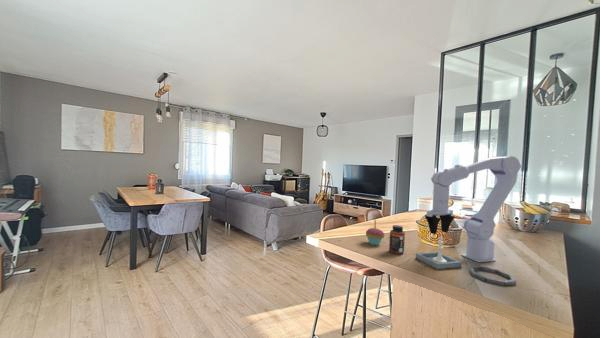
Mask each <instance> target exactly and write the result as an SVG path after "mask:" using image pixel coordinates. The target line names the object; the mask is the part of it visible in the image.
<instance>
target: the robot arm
mask: <svg viewBox="0 0 600 338" xmlns="http://www.w3.org/2000/svg"><path fill="white" fill-rule="evenodd" d="M521 168H522V165H521V163H520V160H519V159H518V157H517V156H513V155H508V156H492V157H487V158H485V159H481V160H480V161H479V160H478V161H476V162H475V163H472V164H468V165H466V166H465V165H462V164H455V165H454V167H452V168H444V169H443V171H436V172H434V173H433V174H432V177H431V179H430V180H431V182H432V184H433V192H432V193H433V194H432V209H430V210H427V211H426V215H424V217H425V218H424V219H426V222H427V224H428V227H429V232H430V234H433V235H436V234H437V232H438V226H439V222H440V225H441V226H440V228H441V232H443V233H449V232H448V231H449V228H450V226H451V224H452V222H453V221H454V220H455V215H453V214H454V210H452V209H449V203H450V201H449V200H450V186H451V185H452V184H453V183H455V182H456V183H457V182H458V181H462V180H464V179H467V178H468V177H469V175H470V174H473V173H477V172H480V171H481V172H482V171H484V170H489V171H490V172H491V173H492V175H493V176H494V177H495V179H496V180H497V181H496V183H495V185H494V186H493V188H492V189H491V191H490V192H489V194H488V196H487V198H486V199H485V201H484V203H483V204H482V206H481V207H480V209H479V210H478V211H477V213H474V214H472V215H471V216H470V217H469V219H466V220H465V222H464V224H463V228H464V230H465V231H466V235H467V236H466V249H465V250H466V253H460V256H463V257H465V258H467V259H470V260H472V261H474V262H477V263H485V262H486V263H487V262H496V260H497V259H495V242H494V241H493V239H492V236H493V235H494V231H495V230H494V229H495V227H496V226H497V225H496V222H495V221H494V219H495V217H496V215H498V212H499V211H500V210H501V207H502V206H503V204H504V202H505V201H506V199H507V197H509V195H510V193H511V191H512V190H513V188H514V186H515V185H516V184H517V179H518V172H520V170H521ZM438 216H439V217H438Z"/></svg>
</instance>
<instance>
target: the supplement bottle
mask: <svg viewBox="0 0 600 338" xmlns="http://www.w3.org/2000/svg"><path fill="white" fill-rule="evenodd" d="M403 230H404V228H403V226H402V225H398V224H393V225H392V229H391V230H390V231H389V245H388V247H389V248H388V249H389V252H390V253H392V254H395V255H403V254H404V252H405V240H406V239H405V237H406V236H405V235H406V233H405V231H403Z"/></svg>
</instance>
